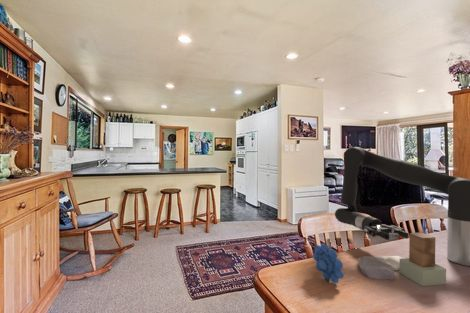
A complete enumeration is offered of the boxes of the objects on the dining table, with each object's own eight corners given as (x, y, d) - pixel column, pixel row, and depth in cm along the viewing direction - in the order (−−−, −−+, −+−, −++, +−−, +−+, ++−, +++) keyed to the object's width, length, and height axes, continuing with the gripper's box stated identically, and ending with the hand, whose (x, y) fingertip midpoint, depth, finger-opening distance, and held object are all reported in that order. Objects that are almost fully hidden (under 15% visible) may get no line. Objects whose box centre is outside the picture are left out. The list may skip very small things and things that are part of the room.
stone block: (366, 283, 82) (397, 280, 80) (363, 269, 82) (394, 266, 81) (356, 268, 94) (383, 265, 92) (353, 256, 94) (380, 253, 92)
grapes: (305, 275, 84) (305, 242, 83) (317, 270, 87) (317, 238, 87) (335, 292, 74) (335, 254, 74) (347, 285, 78) (347, 249, 77)
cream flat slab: (397, 257, 98) (397, 255, 98) (418, 268, 89) (418, 265, 89) (376, 259, 96) (376, 257, 96) (394, 270, 87) (394, 267, 87)
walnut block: (421, 259, 85) (421, 232, 85) (435, 266, 80) (435, 237, 80) (409, 260, 84) (409, 233, 84) (422, 267, 79) (422, 238, 79)
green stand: (420, 270, 87) (420, 257, 87) (445, 283, 78) (446, 268, 78) (399, 272, 86) (399, 258, 86) (422, 286, 77) (423, 271, 77)
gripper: (354, 216, 106) (382, 228, 90) (382, 215, 109) (414, 226, 93) (354, 233, 107) (382, 247, 91) (382, 231, 109) (414, 245, 93)
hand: (398, 236), depth 92 cm, fingers open, 8 cm apart
